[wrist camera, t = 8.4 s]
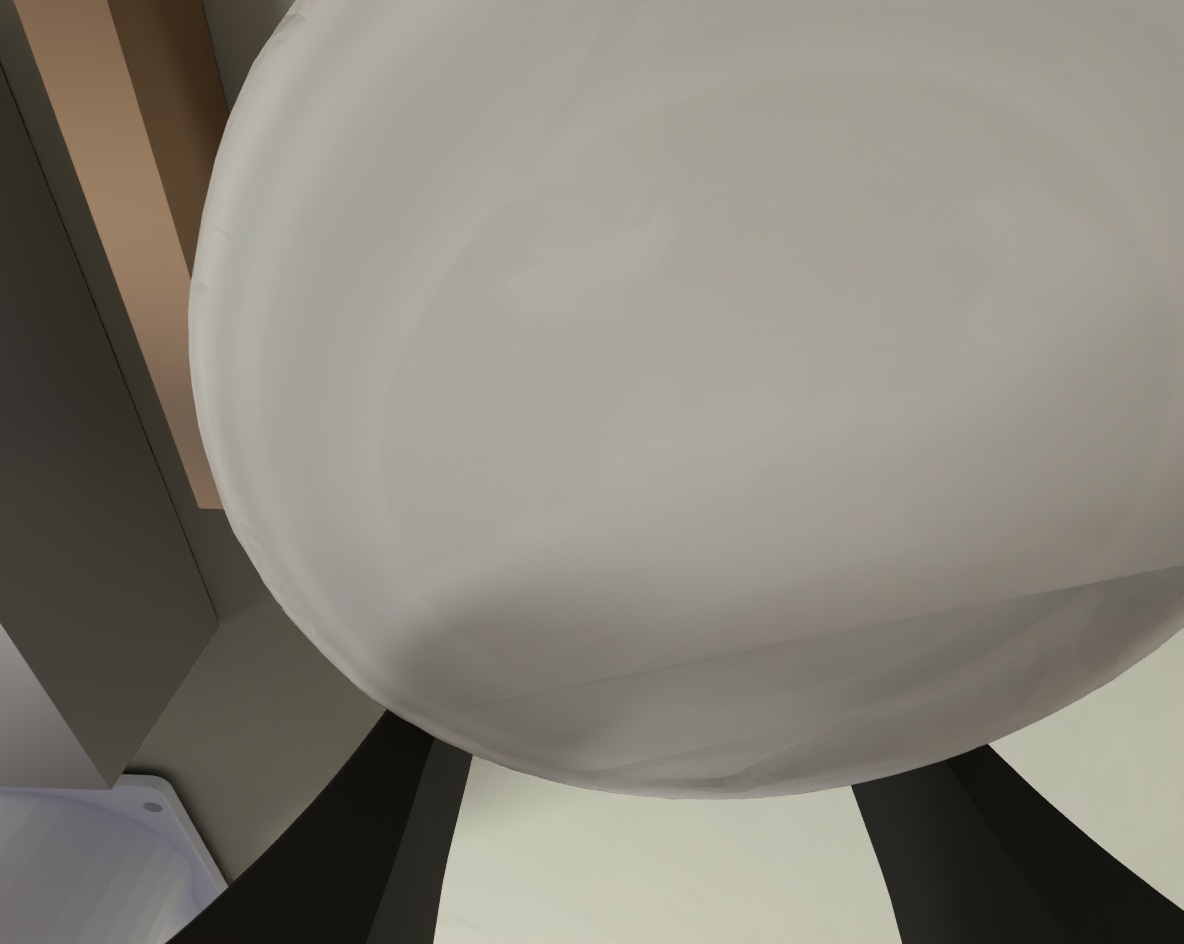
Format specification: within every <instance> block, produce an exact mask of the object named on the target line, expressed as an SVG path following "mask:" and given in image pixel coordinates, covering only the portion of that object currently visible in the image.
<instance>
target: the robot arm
mask: <svg viewBox="0 0 1184 944" xmlns="http://www.w3.org/2000/svg"><path fill="white" fill-rule="evenodd" d="M472 757H473V754H470V753H468V752H466V751H464V750H462V749H460V748H458V747H455V746H453V745H451V744H448V743H446V742H444V741H442V740H440V739H438V738H436V737H434V736H432V735H430V734H429V733H427V732H425V731H424V730H422V729H421V728H419V727H417V726H415V725H414V724H412V723H410V722H408V721H406V720H404V719H402V718H400V717H399V716H397V715H396V714H394V713H393V712H391V711H390V710H388V709H387V710H386V711H385V713H384V714H383V715H382V717H381V718H380V719H379V721H378V722H377V723H376V725H375V726H374V727H373V729H372V730H371V731H370V733H369V734H368V735H367V737H366V738H365V739H364V740H363V742H362V743H361V744H360V746H359V747H358V748H357V750H356V751H355V752H354V754H353V755H352V756H351V757H350V759H349V760H348V761H347V762H346V763H345V765H344V766H343V767H342V768H341V770H340V771H339V772H338V773H337V774H336V775H335V777H334V778H333V779H332V780H331V781H330V783H329V784H328V785H327V786H326V787H325V788H324V789H323V791H322V792H321V793H320V794H319V795H318V796H317V797H316V799H315V800H314V801H313V802H312V803H311V804H310V805H309V806H308V807H307V808H306V810H305V811H304V812H303V813H302V814H301V815H300V816H299V817H298V818H297V819H296V820H295V821H294V822H293V823H292V824H291V825H290V827H289V828H288V829H287V830H286V831H285V832H284V833H283V834H282V835H281V836H280V837H279V838H278V839H277V840H276V841H275V842H274V843H273V844H272V845H271V846H270V847H269V848H268V849H267V850H266V851H265V852H264V853H263V854H262V855H261V856H260V857H259V858H258V859H257V860H256V861H255V862H254V863H253V864H252V865H251V866H250V867H249V868H248V869H247V870H246V871H245V872H244V873H242V874H241V875H240V876H239V877H238V878H237V879H236V880H235V881H234V882H233V883H232V884H231V885H230V886H229V887H228V885H227V883H226V882H225V880H224V878H223V876H222V875H221V873H220V871H219V869H218V867H217V866H216V864H215V862H214V860H213V859H212V857H211V855H210V853H209V852H208V850H207V848H206V846H205V844H204V843H203V841H202V839H201V837H200V836H199V834H198V832H197V830H196V828H195V827H194V825H193V823H192V821H191V820H190V818H189V816H188V814H187V812H186V811H185V809H184V807H183V805H182V804H181V802H180V800H179V798H178V797H177V795H176V793H175V791H174V789H173V788H172V786H171V784H170V783H169V782H168V781H166V780H165V779H163V778H161V777H158V776H152V775H132V774H121V775H120V777H119V779H118V780H117V782H116V783H115V785H114V786H113V788H112V789H111V790H88V789H59V788H29V787H0V944H433V941H434V934H435V928H436V922H437V915H438V909H439V903H440V896H441V890H442V884H443V879H444V874H445V869H446V864H447V859H448V855H449V851H450V846H451V842H452V838H453V834H454V830H455V826H456V822H457V818H458V814H459V810H460V806H461V802H462V798H463V794H464V789H465V785H466V781H467V777H468V773H469V769H470V765H471V761H472ZM851 787H852V790H853V793H854V795H855V798H856V801H857V804H858V806H859V809H860V812H861V815H862V818H863V820H864V823H865V826H866V829H867V831H868V834H869V837H870V840H871V842H872V845H873V848H874V851H875V854H876V856H877V859H878V862H879V865H880V867H881V870H882V873H883V876H884V880H885V883H886V886H887V889H888V892H889V895H890V899H891V902H892V906H893V910H894V914H895V918H896V921H897V925H898V929H899V933H900V937H901V941H902V944H1184V911H1183V910H1182V909H1181V908H1179V907H1178V906H1177V905H1175V904H1174V903H1173V902H1171V901H1170V900H1169V899H1167V898H1166V897H1164V896H1163V895H1162V894H1160V893H1159V892H1158V891H1157V890H1155V889H1154V888H1153V887H1151V886H1150V885H1149V884H1148V883H1146V882H1145V881H1144V880H1142V879H1141V878H1140V877H1139V876H1137V875H1136V874H1135V873H1133V872H1132V871H1131V870H1130V869H1128V868H1127V867H1126V866H1124V865H1123V864H1122V863H1121V862H1119V861H1118V860H1117V859H1115V858H1114V857H1113V856H1112V855H1110V854H1109V853H1108V852H1107V851H1106V850H1104V849H1103V848H1102V847H1101V846H1099V845H1098V844H1097V843H1096V842H1095V841H1093V840H1092V839H1091V838H1090V837H1089V836H1087V835H1086V834H1085V833H1084V832H1083V831H1082V830H1080V829H1079V828H1078V827H1077V826H1076V825H1075V824H1074V823H1072V822H1071V821H1070V820H1069V819H1068V818H1067V817H1065V816H1064V815H1063V814H1062V813H1061V812H1060V811H1058V810H1057V809H1056V808H1055V807H1054V806H1053V805H1052V804H1050V803H1049V802H1048V801H1047V800H1046V799H1045V798H1044V797H1043V796H1042V795H1040V794H1039V793H1038V792H1037V791H1036V790H1035V789H1034V788H1033V787H1032V786H1031V785H1030V784H1029V783H1028V782H1026V781H1025V780H1024V779H1023V778H1022V777H1021V776H1020V775H1019V774H1018V773H1017V772H1016V771H1015V770H1014V769H1013V768H1012V767H1011V766H1010V765H1009V764H1008V763H1007V762H1006V761H1005V760H1004V759H1003V758H1002V757H1000V756H999V755H998V754H997V753H996V752H995V751H994V750H993V749H992V748H991V747H990V746H989V745H988V744H986V745H982V746H979V747H977V748H975V749H973V750H971V751H968V752H965V753H963V754H960V755H957V756H954V757H951V758H949V759H946V760H943V761H940V762H936V763H933V764H930V765H927V766H923V767H920V768H916V769H913V770H909V771H906V772H902V773H899V774H895V775H892V776H888V777H884V778H880V779H875V780H871V781H867V782H862V783H858V784H853V785H851Z"/></svg>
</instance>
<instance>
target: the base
mask: <svg viewBox="0 0 1184 944" xmlns="http://www.w3.org/2000/svg"><path fill="white" fill-rule="evenodd" d="M218 626H219V622H218V619H217V617H216V614H215V612H214V609H213V607H212V604H211V602H210V599H209V596H208V594H207V591H206V589H205V586H204V584H203V581H202V579H201V576H200V574H199V571H198V568H197V566H196V563H195V561H194V558H193V556H192V553H191V551H190V548H189V545H188V543H187V540H186V538H185V535H184V533H183V530H182V528H181V525H180V523H179V520H178V517H177V515H176V512H175V510H174V507H173V505H172V502H171V500H170V497H169V494H168V492H167V489H166V487H165V484H164V482H163V479H162V477H161V474H160V472H159V469H158V466H157V464H156V461H155V459H154V456H153V454H152V451H151V449H150V446H149V443H148V441H147V438H146V436H145V433H144V431H143V428H142V426H141V423H140V420H139V418H138V415H137V413H136V410H135V408H134V405H133V403H132V400H131V398H130V395H129V392H128V390H127V387H126V385H125V382H124V380H123V377H122V375H121V372H120V369H119V367H118V364H117V362H116V359H115V357H114V354H113V352H112V349H111V347H110V344H109V341H108V339H107V336H106V334H105V331H104V329H103V326H102V324H101V321H100V318H99V316H98V313H97V311H96V308H95V306H94V303H93V301H92V298H91V296H90V293H89V290H88V288H87V285H86V283H85V280H84V278H83V275H82V273H81V270H80V267H79V265H78V262H77V260H76V257H75V255H74V252H73V250H72V247H71V245H70V242H69V239H68V237H67V234H66V232H65V229H64V227H63V224H62V222H61V219H60V216H59V214H58V211H57V209H56V206H55V204H54V201H53V199H52V196H51V194H50V191H49V188H48V186H47V183H46V181H45V178H44V176H43V173H42V171H41V168H40V165H39V163H38V160H37V158H36V155H35V153H34V150H33V148H32V145H31V143H30V140H29V137H28V135H27V132H26V130H25V127H24V125H23V122H22V120H21V117H20V114H19V112H18V109H17V107H16V104H15V102H14V99H13V97H12V94H11V92H10V89H9V86H8V84H7V81H6V79H5V76H4V74H3V71H2V69H1V66H0V787H29V788H59V789H88V790H111V789H112V788H113V786H114V785H115V783H116V782H117V780H118V779H119V777H120V775H121V774H122V772H123V771H124V769H125V768H126V766H127V765H128V763H129V762H130V760H131V759H132V757H133V756H134V754H135V753H136V751H137V750H138V748H139V747H140V745H141V743H142V742H143V740H144V739H145V737H146V736H147V734H148V733H149V731H150V730H151V728H152V727H153V725H154V724H155V722H156V721H157V719H158V718H159V716H160V715H161V713H162V711H163V710H164V708H165V707H166V705H167V704H168V702H169V701H170V699H171V698H172V696H173V695H174V693H175V692H176V690H177V689H178V687H179V686H180V684H181V683H182V681H183V679H184V678H185V676H186V675H187V673H188V672H189V670H190V669H191V667H192V666H193V664H194V663H195V661H196V660H197V658H198V657H199V655H200V654H201V652H202V651H203V649H204V647H205V646H206V644H207V643H208V641H209V640H210V638H211V637H212V635H213V634H214V632H215V631H216V629H217V628H218Z"/></svg>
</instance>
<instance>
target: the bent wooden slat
mask: <svg viewBox="0 0 1184 944" xmlns="http://www.w3.org/2000/svg"><path fill="white" fill-rule="evenodd" d="M14 3H15V6H16V9H17V11H18V14H19V17H20V20H21V22H22V25H23V28H24V31H25V33H26V36H27V39H28V42H29V44H30V47H31V50H32V53H33V55H34V58H35V61H36V63H37V66H38V69H39V72H40V74H41V77H42V80H43V83H44V85H45V88H46V91H47V94H48V96H49V99H50V102H51V105H52V107H53V110H54V113H55V116H56V118H57V121H58V124H59V126H60V129H61V132H62V135H63V137H64V140H65V143H66V146H67V148H68V151H69V154H70V157H71V159H72V162H73V165H74V168H75V170H76V173H77V176H78V178H79V181H80V184H81V187H82V189H83V192H84V195H85V198H86V200H87V203H88V206H89V209H90V211H91V214H92V217H93V220H94V222H95V225H96V228H97V231H98V233H99V236H100V239H101V241H102V244H103V247H104V250H105V252H106V255H107V258H108V261H109V263H110V266H111V269H112V272H113V274H114V277H115V280H116V283H117V285H118V288H119V291H120V294H121V296H122V299H123V302H124V304H125V307H126V310H127V313H128V315H129V318H130V321H131V324H132V326H133V329H134V332H135V335H136V337H137V340H138V343H139V346H140V348H141V351H142V354H143V357H144V359H145V362H146V365H147V367H148V370H149V373H150V376H151V378H152V381H153V384H154V387H155V389H156V392H157V395H158V398H159V400H160V403H161V406H162V409H163V411H164V414H165V417H166V419H167V422H168V425H169V428H170V430H171V433H172V436H173V439H174V441H175V444H176V447H177V450H178V452H179V455H180V458H181V461H182V463H183V466H184V469H185V472H186V474H187V477H188V480H189V482H190V485H191V488H192V491H193V493H194V496H195V499H196V502H197V504H198V507H199V508H204V509H224V507H223V504H222V502H221V499H220V496H219V493H218V490H217V487H216V484H215V481H214V478H213V475H212V471H211V468H210V465H209V461H208V458H207V455H206V452H205V449H204V445H203V441H202V437H201V434H200V430H199V426H198V419H197V413H196V407H195V401H194V395H193V389H192V382H191V371H190V361H189V330H188V307H189V296H190V286H191V279H192V273H193V267H194V261H195V255H196V249H197V243H198V237H199V231H200V225H201V219H202V214H203V209H204V205H205V201H206V197H207V192H208V188H209V184H210V180H211V175H212V171H213V167H214V163H215V158H216V155H217V152H218V149H219V146H220V143H221V140H222V137H223V134H224V130H225V127H226V124H227V121H228V119H229V116H228V112H227V107H226V103H225V99H224V95H223V90H222V86H221V82H220V78H219V73H218V69H217V65H216V60H215V56H214V52H213V48H212V43H211V39H210V35H209V31H208V26H207V22H206V18H205V14H204V9H203V5H202V1H201V0H14Z"/></svg>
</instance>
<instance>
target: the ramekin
mask: <svg viewBox="0 0 1184 944" xmlns="http://www.w3.org/2000/svg"><path fill="white" fill-rule="evenodd" d="M188 330H189V361H190V371H191V382H192V389H193V395H194V401H195V407H196V413H197V419H198V426H199V430H200V434H201V437H202V441H203V445H204V449H205V452H206V455H207V458H208V461H209V465H210V468H211V471H212V475H213V478H214V481H215V484H216V487H217V490H218V493H219V496H220V499H221V502H222V504H223V507H224V510H225V513H226V515H227V518H228V520H229V523H230V525H231V527H232V530H233V532H234V534H235V535H236V537H237V539H238V541H239V542H240V543H241V545H242V546H243V548H244V550H245V551H246V553H247V555H248V556H249V558H250V560H251V561H252V563H253V565H254V567H255V568H256V570H257V571H258V573H259V575H260V576H261V579H262V581H263V583H264V584H265V585H266V587H267V588H268V589H269V590H270V592H271V593H272V595H273V597H274V598H275V600H276V601H277V602H278V603H279V604H280V605H281V607H282V608H283V610H284V612H285V613H286V614H287V615H288V616H289V618H290V619H291V620H292V621H293V622H294V623H295V624H296V626H297V627H298V628H299V629H300V630H301V631H302V632H303V633H304V634H305V635H306V636H307V637H308V639H309V640H310V641H311V642H312V643H313V644H314V645H315V646H316V647H317V648H318V650H319V651H320V652H321V653H322V654H323V655H324V656H325V657H326V658H327V659H328V660H329V661H330V662H331V663H332V664H333V665H334V666H336V667H337V668H338V669H339V670H340V671H341V672H342V673H343V674H344V675H345V676H346V677H347V678H348V679H349V680H350V681H351V682H352V683H353V684H354V685H356V686H357V687H358V688H359V689H360V690H362V691H363V692H364V693H365V694H366V695H368V696H369V697H370V698H372V699H373V700H375V701H376V702H378V703H380V704H381V705H383V706H384V707H385V708H387V709H388V710H390V711H391V712H393V713H394V714H396V715H397V716H399V717H400V718H402V719H404V720H406V721H408V722H410V723H412V724H414V725H415V726H417V727H419V728H421V729H422V730H424V731H425V732H427V733H429V734H430V735H432V736H434V737H436V738H438V739H440V740H442V741H444V742H446V743H448V744H451V745H453V746H455V747H458V748H460V749H462V750H464V751H466V752H468V753H470V754H473V755H475V756H478V757H480V758H482V759H485V760H488V761H491V762H494V763H496V764H499V765H501V766H504V767H507V768H509V769H512V770H515V771H519V772H522V773H526V774H530V775H533V776H537V777H540V778H543V779H546V780H550V781H554V782H558V783H562V784H567V785H571V786H576V787H581V788H585V789H591V790H598V791H604V792H609V793H616V794H625V795H634V796H645V797H657V798H667V799H720V800H721V799H751V798H764V797H774V796H784V795H796V794H802V793H808V792H815V791H821V790H826V789H832V788H838V787H843V786H849V785H853V784H858V783H862V782H867V781H871V780H875V779H880V778H884V777H888V776H892V775H895V774H899V773H902V772H906V771H909V770H913V769H916V768H920V767H923V766H927V765H930V764H933V763H936V762H940V761H943V760H946V759H949V758H951V757H954V756H957V755H960V754H963V753H965V752H968V751H971V750H973V749H975V748H977V747H979V746H982V745H986V744H988V743H990V742H993V741H995V740H997V739H1000V738H1002V737H1004V736H1007V735H1009V734H1011V733H1013V732H1015V731H1017V730H1020V729H1022V728H1024V727H1026V726H1028V725H1030V724H1033V723H1035V722H1037V721H1039V720H1041V719H1043V718H1045V717H1047V716H1049V715H1051V714H1053V713H1055V712H1057V711H1058V710H1060V709H1062V708H1064V707H1066V706H1068V705H1070V704H1072V703H1074V702H1075V701H1077V700H1079V699H1081V698H1083V697H1084V696H1086V695H1087V694H1089V693H1091V692H1092V691H1094V690H1096V689H1098V688H1100V687H1102V686H1103V685H1105V684H1107V683H1109V682H1110V681H1112V680H1114V679H1115V678H1116V677H1118V676H1119V675H1120V674H1122V673H1123V672H1124V671H1126V670H1127V669H1129V668H1130V667H1132V666H1133V665H1135V664H1136V663H1137V662H1139V661H1140V660H1142V659H1143V658H1145V657H1146V656H1148V655H1149V654H1150V653H1152V652H1153V651H1155V650H1156V649H1158V648H1159V647H1160V646H1161V645H1162V644H1164V643H1165V642H1166V641H1167V640H1168V639H1170V638H1171V637H1172V636H1173V635H1175V634H1176V633H1177V632H1178V631H1180V630H1181V629H1182V628H1183V627H1184V0H296V1H295V2H294V3H293V5H292V6H291V8H290V9H289V10H288V12H287V13H286V15H285V16H284V17H283V19H282V20H281V22H280V23H279V25H278V26H277V28H276V29H275V31H274V32H273V34H272V35H271V36H270V38H269V39H268V41H267V42H266V44H265V45H264V47H263V48H262V50H261V52H260V53H259V55H258V56H257V58H256V59H255V61H254V62H253V64H252V66H251V68H250V71H249V73H248V75H247V78H246V80H245V82H244V84H243V87H242V89H241V91H240V94H239V96H238V98H237V100H236V103H235V105H234V107H233V109H232V112H231V114H230V116H229V119H228V121H227V124H226V127H225V130H224V134H223V137H222V140H221V143H220V146H219V149H218V152H217V155H216V158H215V163H214V167H213V171H212V175H211V180H210V184H209V188H208V192H207V197H206V201H205V205H204V209H203V214H202V219H201V225H200V231H199V237H198V243H197V249H196V255H195V261H194V267H193V273H192V279H191V286H190V296H189V307H188Z"/></svg>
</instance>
